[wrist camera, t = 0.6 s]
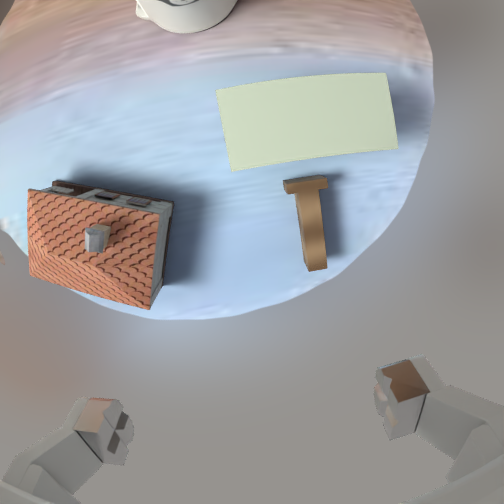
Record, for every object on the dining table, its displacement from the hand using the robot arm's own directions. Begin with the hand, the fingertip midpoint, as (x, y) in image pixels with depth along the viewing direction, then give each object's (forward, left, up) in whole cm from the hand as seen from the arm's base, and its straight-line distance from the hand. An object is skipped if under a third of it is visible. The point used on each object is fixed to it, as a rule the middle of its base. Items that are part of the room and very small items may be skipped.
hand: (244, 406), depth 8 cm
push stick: (+6, +9, -42) cm, 43 cm away
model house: (+2, -26, -42) cm, 49 cm away
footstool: (-9, +9, -42) cm, 43 cm away
